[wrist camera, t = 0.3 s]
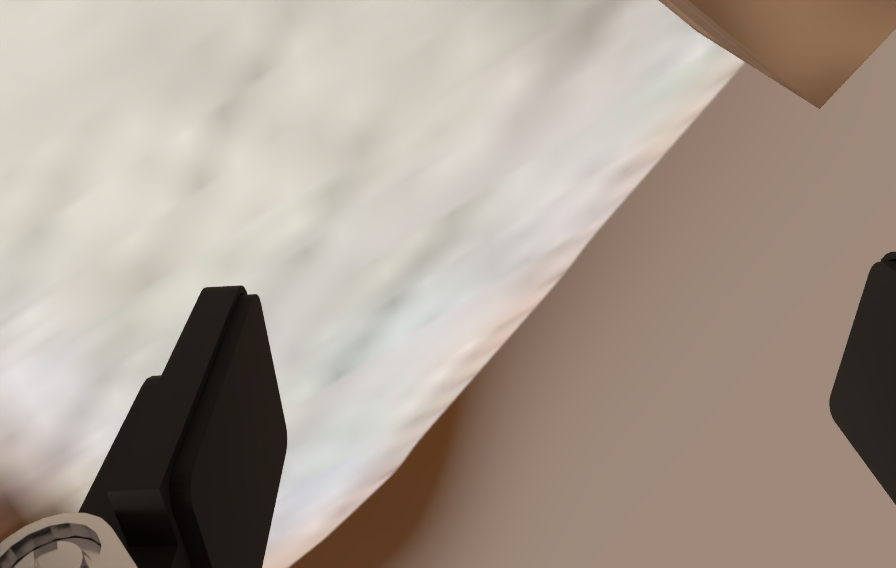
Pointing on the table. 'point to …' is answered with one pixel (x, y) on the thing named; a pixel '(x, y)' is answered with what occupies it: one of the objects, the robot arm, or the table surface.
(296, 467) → the table surface
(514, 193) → the table surface
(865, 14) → the brown wooden open box
